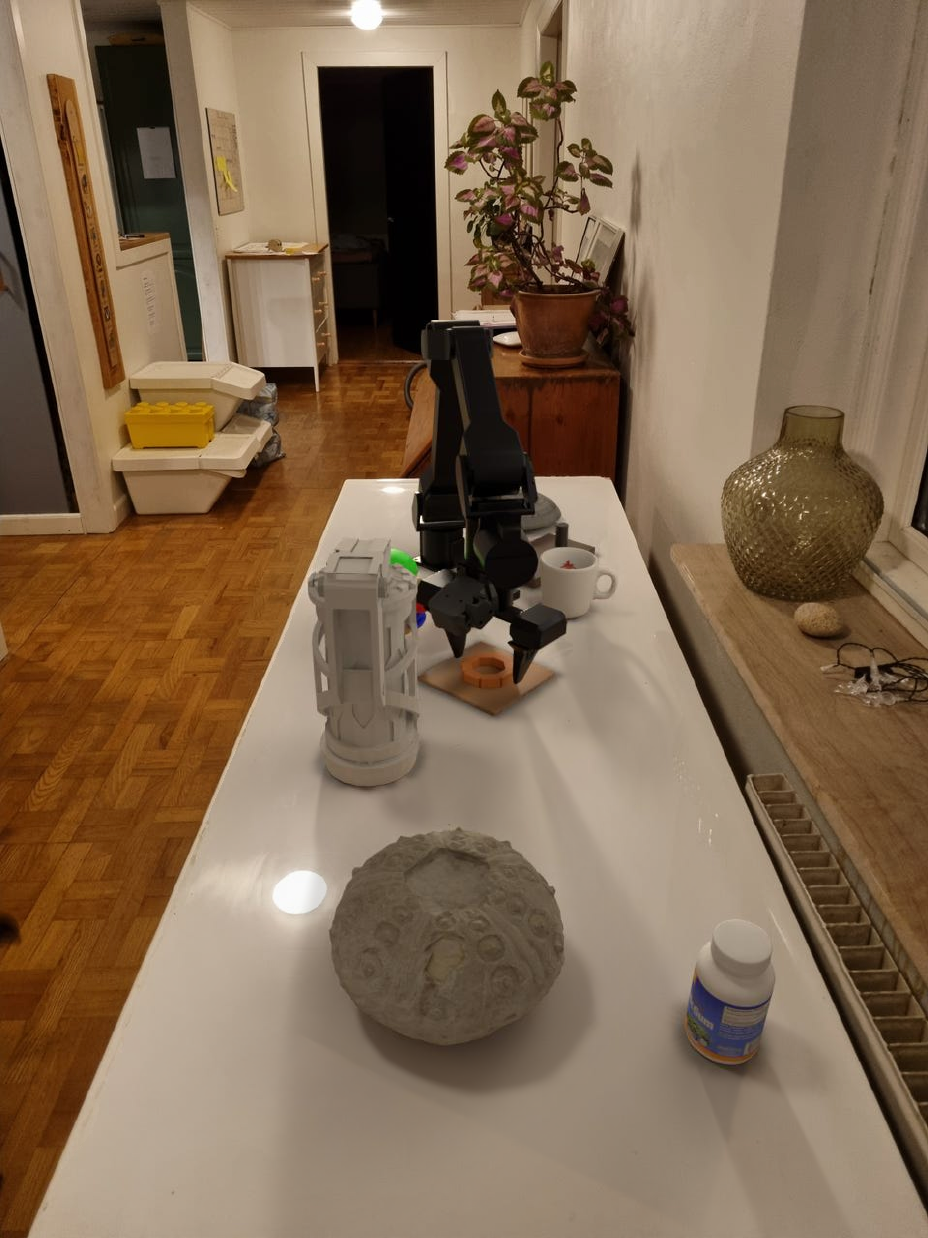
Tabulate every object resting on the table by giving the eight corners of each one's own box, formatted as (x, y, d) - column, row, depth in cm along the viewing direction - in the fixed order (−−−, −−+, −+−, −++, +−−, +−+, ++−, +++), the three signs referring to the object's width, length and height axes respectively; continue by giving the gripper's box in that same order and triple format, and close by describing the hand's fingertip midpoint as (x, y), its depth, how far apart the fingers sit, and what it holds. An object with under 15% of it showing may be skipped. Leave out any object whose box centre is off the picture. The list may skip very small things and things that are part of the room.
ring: (450, 675, 112) (450, 666, 111) (483, 655, 116) (484, 647, 116) (491, 693, 108) (491, 685, 108) (524, 672, 113) (524, 664, 112)
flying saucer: (546, 542, 150) (548, 510, 148) (461, 529, 155) (461, 498, 152) (570, 511, 163) (572, 482, 160) (490, 500, 167) (491, 471, 165)
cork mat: (417, 679, 112) (417, 676, 112) (480, 643, 120) (480, 640, 120) (494, 715, 105) (494, 712, 105) (555, 675, 113) (555, 672, 113)
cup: (613, 600, 131) (618, 549, 128) (615, 626, 124) (621, 572, 121) (537, 596, 132) (540, 545, 129) (536, 622, 125) (539, 568, 122)
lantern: (329, 729, 102) (315, 518, 91) (423, 731, 102) (420, 520, 90) (308, 803, 91) (289, 573, 79) (414, 806, 90) (409, 576, 79)
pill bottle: (675, 1006, 70) (691, 912, 65) (744, 1002, 70) (765, 908, 66) (697, 1070, 65) (716, 973, 61) (771, 1065, 66) (795, 968, 61)
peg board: (486, 571, 140) (487, 541, 137) (548, 541, 151) (550, 512, 148) (534, 588, 135) (536, 557, 132) (594, 555, 145) (597, 526, 143)
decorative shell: (597, 1041, 67) (608, 941, 62) (356, 1104, 63) (349, 1002, 58) (516, 874, 82) (520, 784, 78) (317, 915, 78) (309, 822, 73)
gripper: (381, 550, 104) (385, 669, 112) (511, 599, 94) (506, 726, 101) (446, 523, 112) (446, 636, 119) (573, 565, 101) (565, 686, 109)
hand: (487, 669), depth 112 cm, fingers open, 9 cm apart
